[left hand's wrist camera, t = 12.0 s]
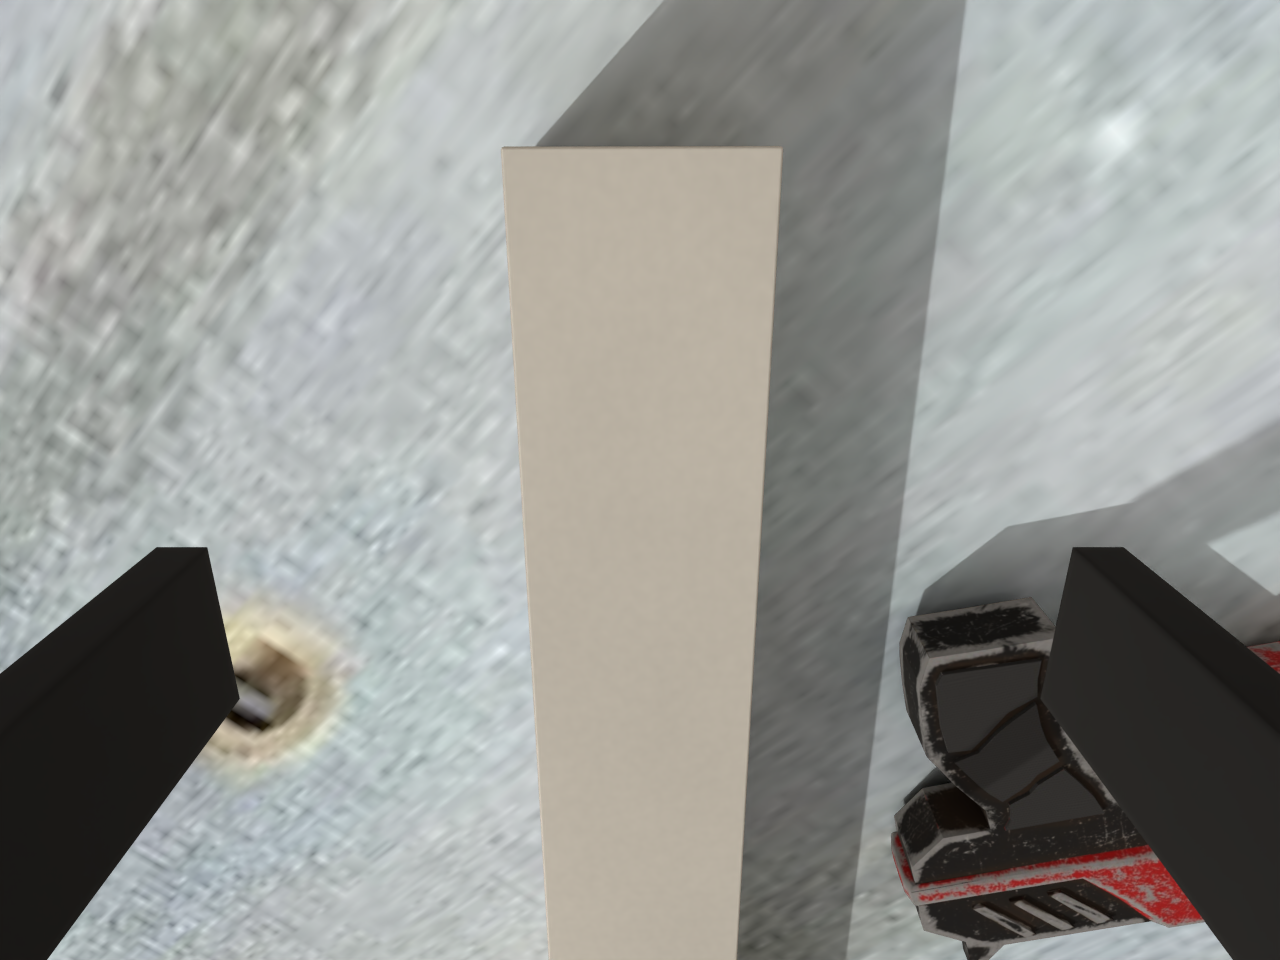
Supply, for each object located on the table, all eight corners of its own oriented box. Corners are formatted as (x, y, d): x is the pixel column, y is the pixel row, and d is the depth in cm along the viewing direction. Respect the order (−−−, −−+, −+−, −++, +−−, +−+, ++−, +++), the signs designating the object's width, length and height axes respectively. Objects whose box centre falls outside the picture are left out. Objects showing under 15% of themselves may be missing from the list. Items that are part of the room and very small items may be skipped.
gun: (866, 681, 35) (925, 985, 42) (1683, 515, 31) (1593, 879, 38) (843, 622, 39) (900, 908, 46) (1561, 469, 35) (1501, 806, 42)
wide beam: (529, 149, 31) (500, 146, 25) (754, 148, 31) (783, 145, 25) (574, 1095, 51) (564, 1232, 45) (711, 1095, 51) (721, 1232, 45)
